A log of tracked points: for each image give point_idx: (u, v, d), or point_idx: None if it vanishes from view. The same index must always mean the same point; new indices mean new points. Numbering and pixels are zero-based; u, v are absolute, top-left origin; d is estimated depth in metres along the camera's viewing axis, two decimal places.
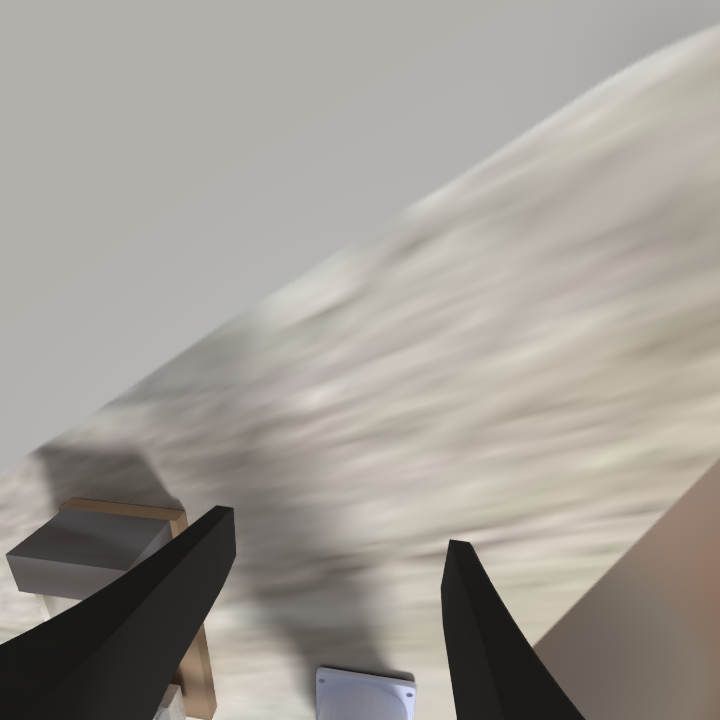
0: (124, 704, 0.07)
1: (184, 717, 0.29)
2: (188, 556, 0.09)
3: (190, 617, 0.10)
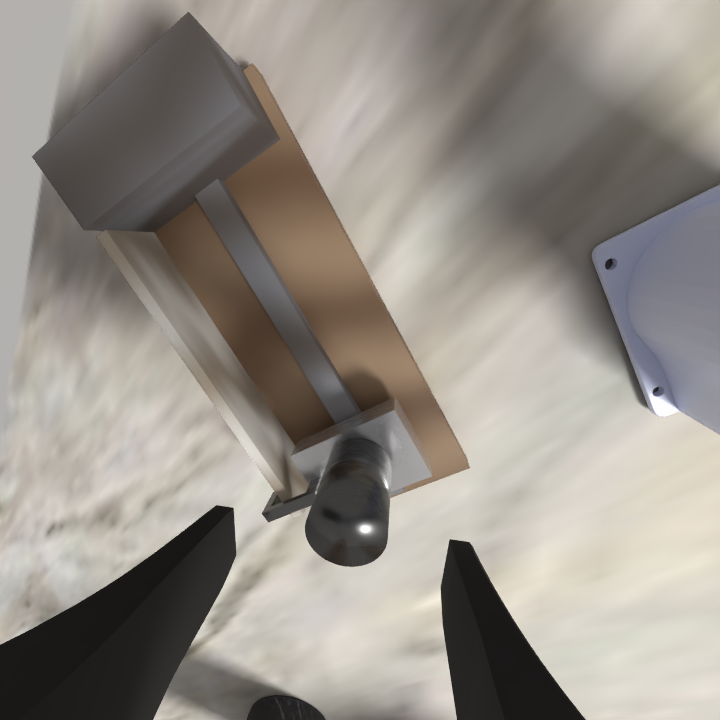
0: (124, 704, 0.07)
1: (428, 456, 0.18)
2: (188, 556, 0.09)
3: (190, 617, 0.10)
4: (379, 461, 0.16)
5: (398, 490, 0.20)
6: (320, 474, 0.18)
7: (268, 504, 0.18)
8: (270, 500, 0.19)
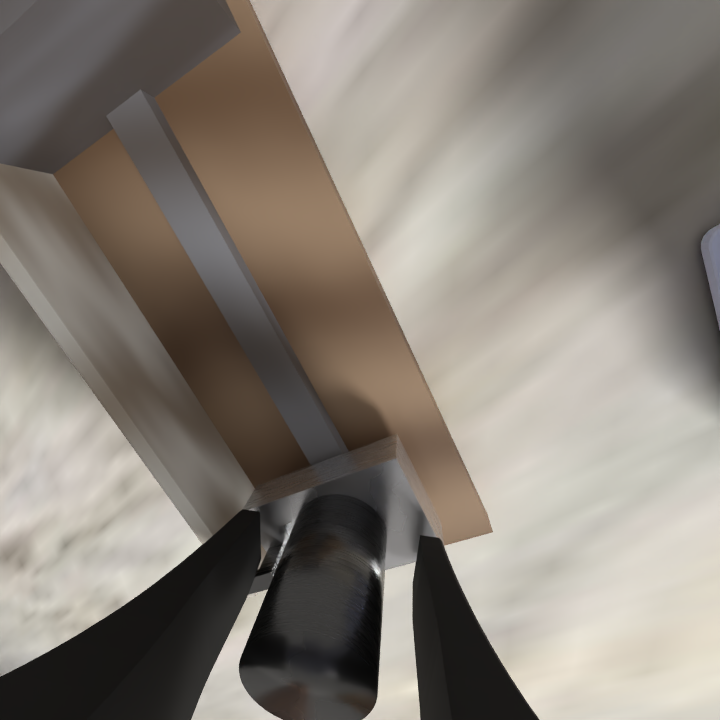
0: (164, 712, 0.07)
1: (438, 519, 0.13)
2: (221, 561, 0.09)
3: (221, 623, 0.10)
4: (368, 539, 0.10)
5: None
6: (283, 539, 0.12)
7: None
8: None
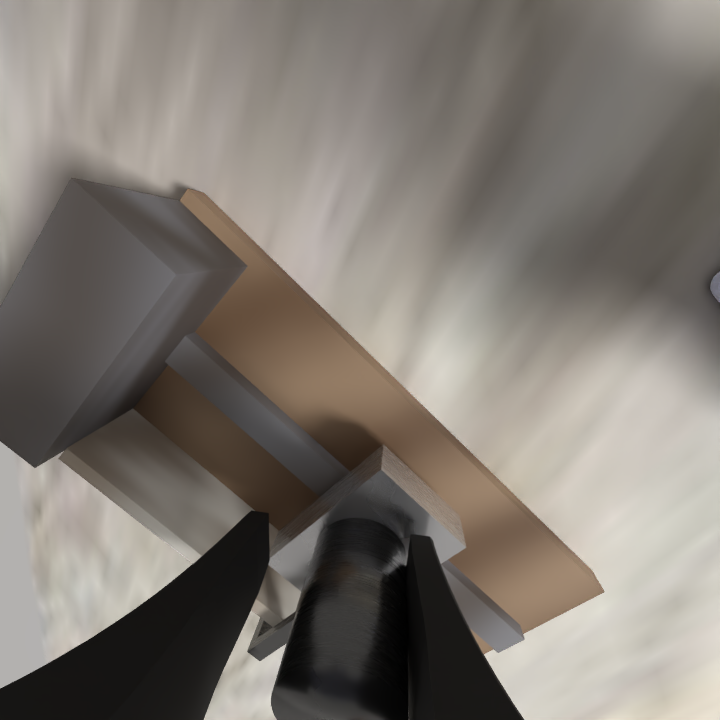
0: (177, 715, 0.07)
1: (454, 513, 0.13)
2: (232, 563, 0.09)
3: (232, 624, 0.10)
4: (376, 556, 0.10)
5: (516, 639, 0.15)
6: None
7: (256, 632, 0.13)
8: (258, 624, 0.13)
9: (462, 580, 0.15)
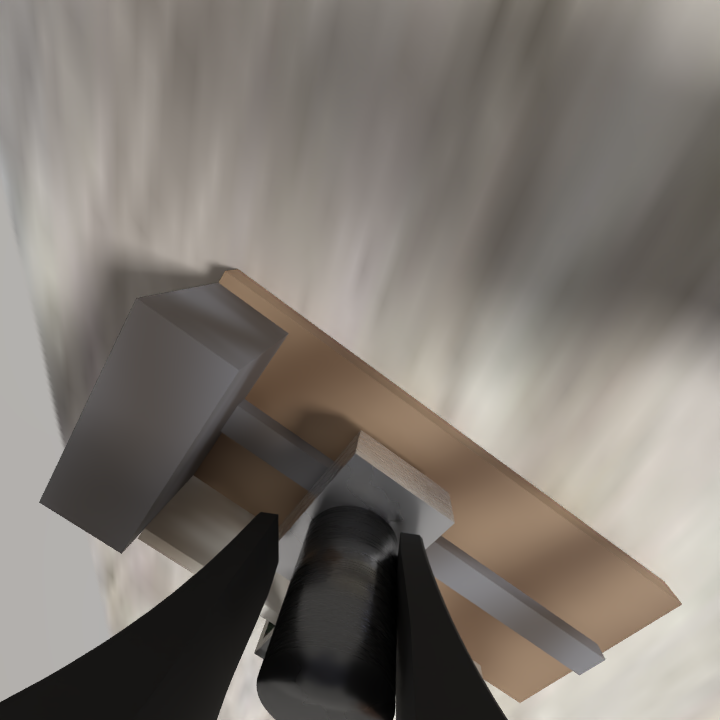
0: (192, 718, 0.07)
1: (443, 491, 0.13)
2: (243, 565, 0.09)
3: (243, 626, 0.10)
4: (359, 539, 0.10)
5: (596, 660, 0.15)
6: None
7: (262, 634, 0.13)
8: (264, 626, 0.13)
9: (533, 607, 0.15)
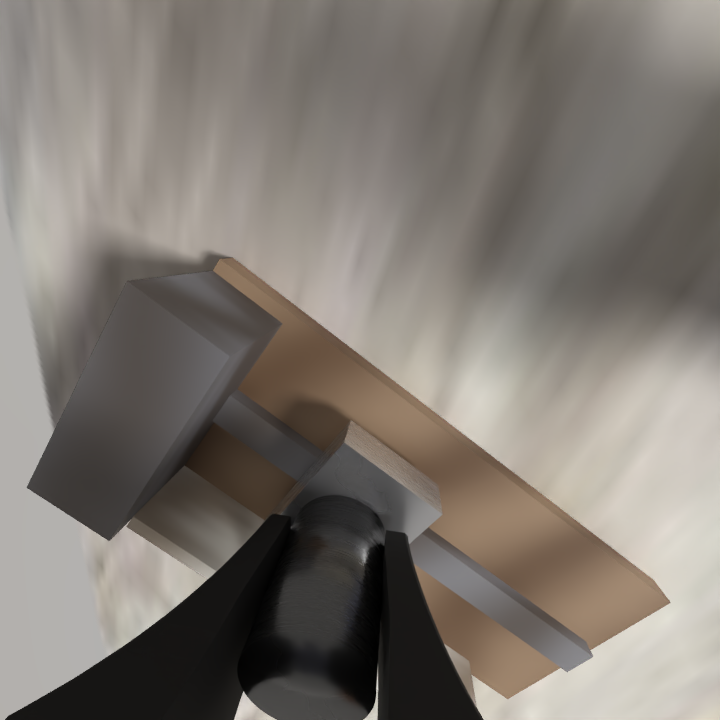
0: None
1: (432, 483, 0.12)
2: (258, 567, 0.09)
3: None
4: (346, 528, 0.10)
5: (584, 657, 0.15)
6: None
7: None
8: None
9: (523, 603, 0.15)
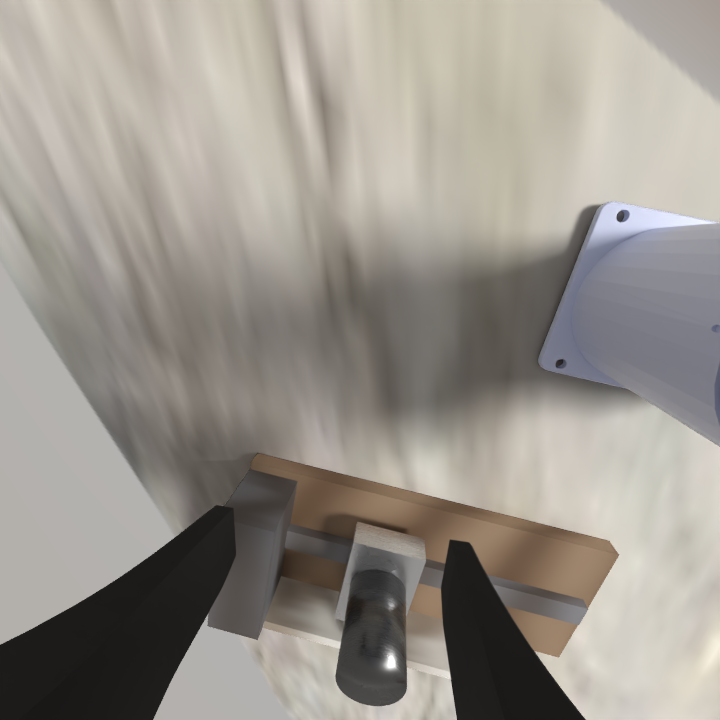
0: (124, 704, 0.07)
1: (419, 540, 0.20)
2: (188, 556, 0.09)
3: (190, 617, 0.10)
4: (371, 591, 0.18)
5: (583, 611, 0.21)
6: None
7: None
8: None
9: (522, 589, 0.21)
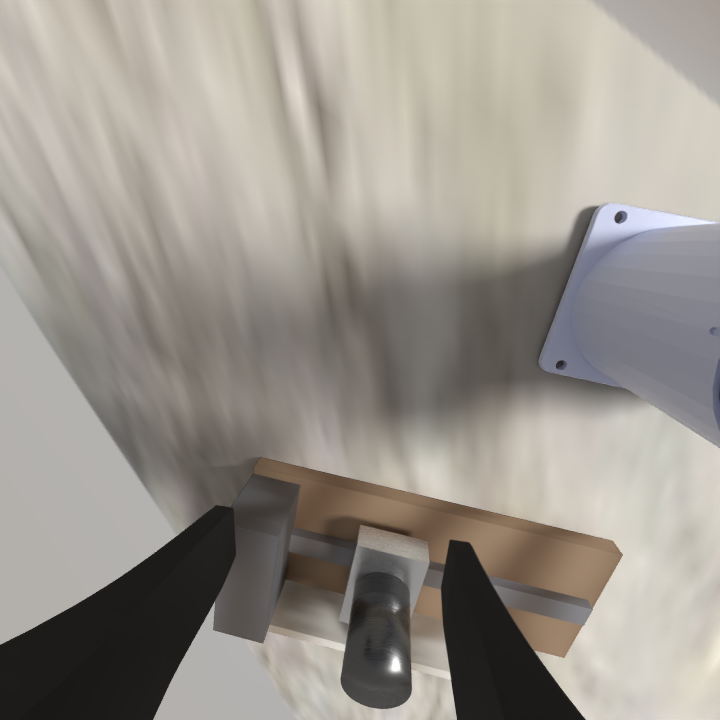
0: (124, 704, 0.07)
1: (422, 542, 0.20)
2: (188, 556, 0.09)
3: (190, 617, 0.10)
4: (375, 594, 0.18)
5: (587, 612, 0.21)
6: None
7: None
8: None
9: (526, 590, 0.21)
